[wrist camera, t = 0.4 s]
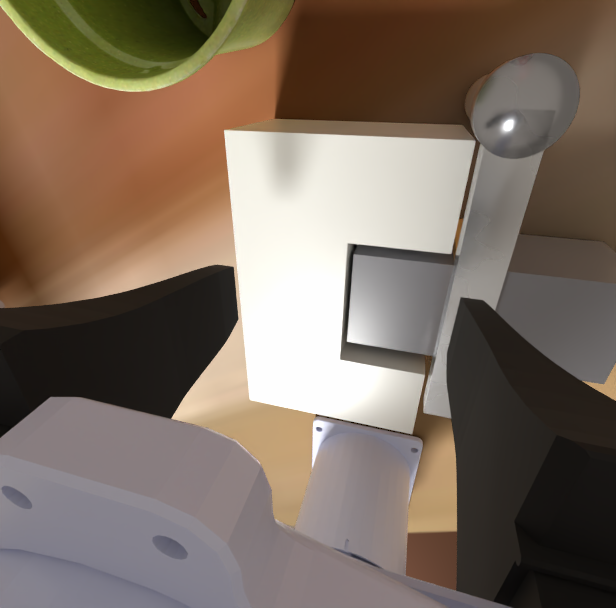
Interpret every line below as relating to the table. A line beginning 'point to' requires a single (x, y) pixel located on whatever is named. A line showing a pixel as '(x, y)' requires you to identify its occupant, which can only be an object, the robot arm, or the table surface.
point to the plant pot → (143, 35)
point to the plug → (511, 304)
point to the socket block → (335, 252)
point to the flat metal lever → (501, 185)
